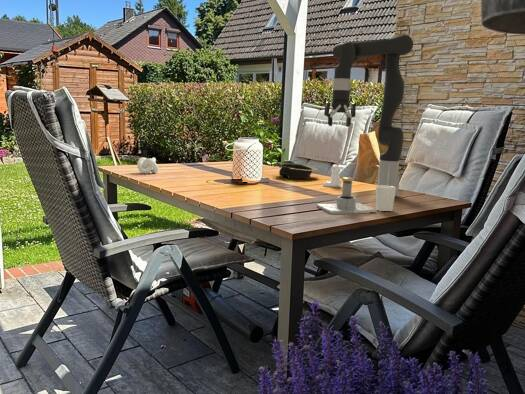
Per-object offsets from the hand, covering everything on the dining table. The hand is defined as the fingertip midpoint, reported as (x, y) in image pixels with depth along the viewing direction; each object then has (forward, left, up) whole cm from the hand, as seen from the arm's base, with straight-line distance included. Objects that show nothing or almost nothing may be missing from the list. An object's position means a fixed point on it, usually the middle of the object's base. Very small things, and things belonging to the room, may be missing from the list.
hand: (339, 126), depth 221 cm
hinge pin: (+6, +24, -32) cm, 40 cm away
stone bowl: (-6, -66, -33) cm, 74 cm away
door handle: (+26, -53, -34) cm, 68 cm away
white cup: (-10, +27, -33) cm, 44 cm away
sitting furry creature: (-15, -33, -33) cm, 49 cm away
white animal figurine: (+79, -87, -33) cm, 122 cm away
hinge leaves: (+6, +24, -33) cm, 41 cm away
